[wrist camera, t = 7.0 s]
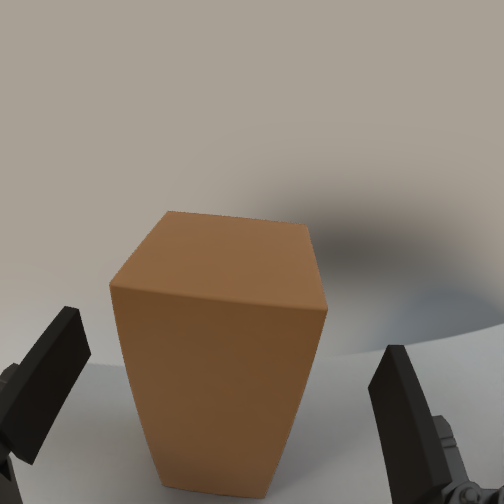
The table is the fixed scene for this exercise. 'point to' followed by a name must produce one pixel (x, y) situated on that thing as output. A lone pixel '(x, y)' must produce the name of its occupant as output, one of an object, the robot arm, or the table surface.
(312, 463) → the table surface
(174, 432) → the carton
